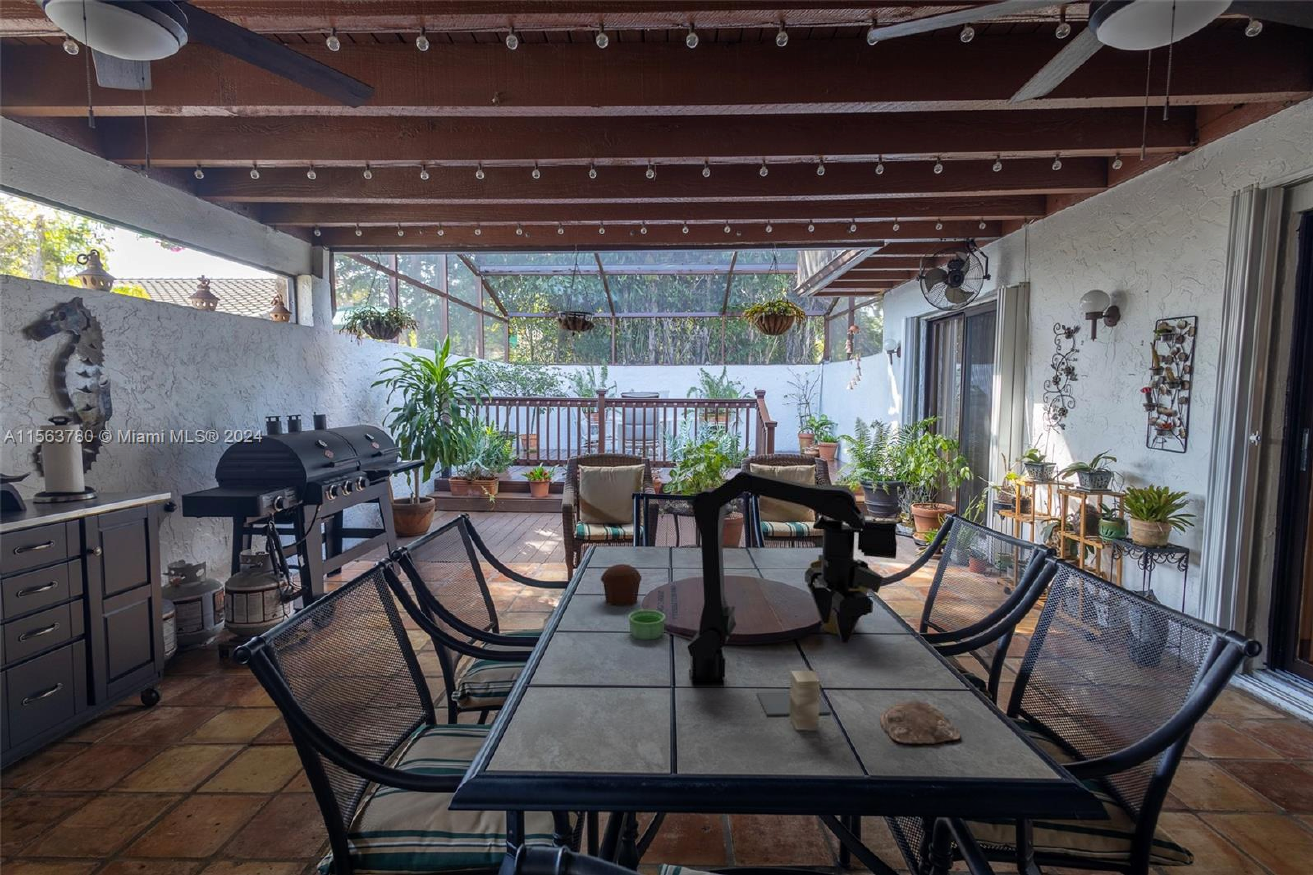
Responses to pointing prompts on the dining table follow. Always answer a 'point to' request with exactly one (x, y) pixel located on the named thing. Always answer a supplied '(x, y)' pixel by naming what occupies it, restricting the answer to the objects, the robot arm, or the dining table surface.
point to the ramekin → (646, 624)
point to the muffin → (621, 585)
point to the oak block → (804, 700)
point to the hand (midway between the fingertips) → (834, 632)
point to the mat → (782, 703)
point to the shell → (918, 725)
